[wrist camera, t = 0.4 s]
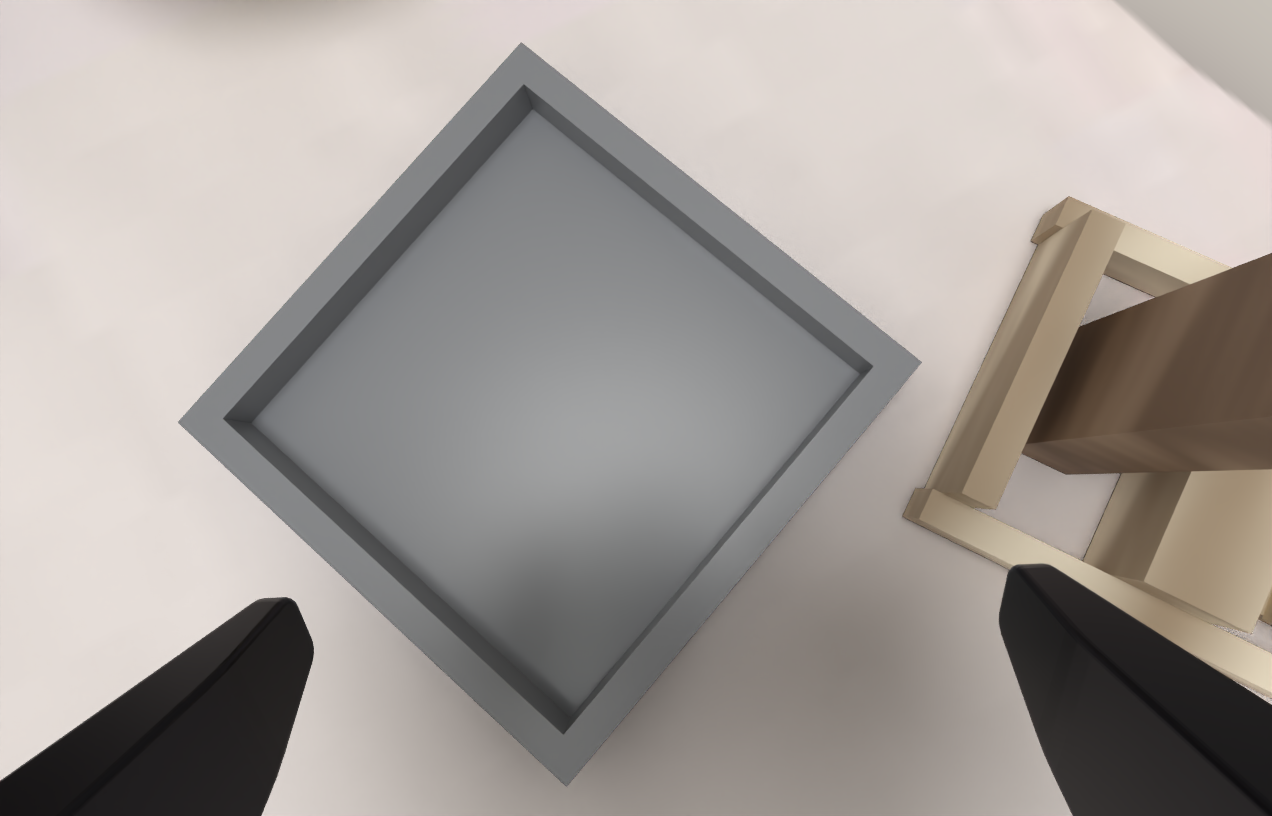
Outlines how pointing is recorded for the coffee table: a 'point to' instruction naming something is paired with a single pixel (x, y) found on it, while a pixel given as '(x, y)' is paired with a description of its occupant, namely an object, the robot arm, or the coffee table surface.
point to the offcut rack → (1142, 502)
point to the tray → (548, 406)
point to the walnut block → (1168, 384)
